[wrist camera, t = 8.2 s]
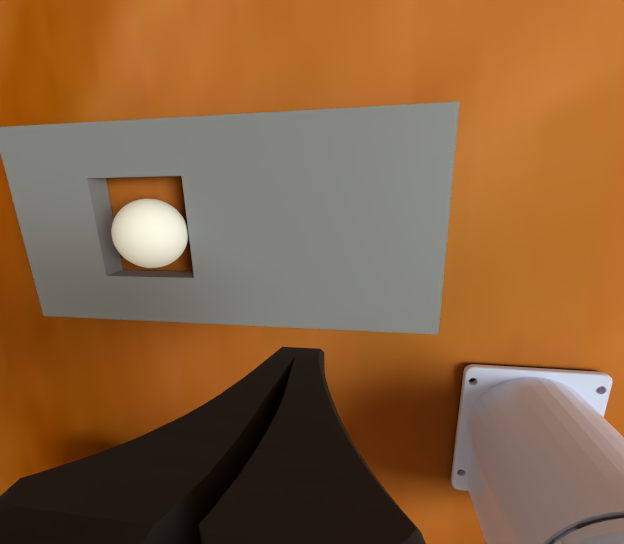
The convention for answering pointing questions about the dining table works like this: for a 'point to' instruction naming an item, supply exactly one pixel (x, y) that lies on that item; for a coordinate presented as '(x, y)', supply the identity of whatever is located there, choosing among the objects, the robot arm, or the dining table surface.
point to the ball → (149, 233)
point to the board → (248, 216)
